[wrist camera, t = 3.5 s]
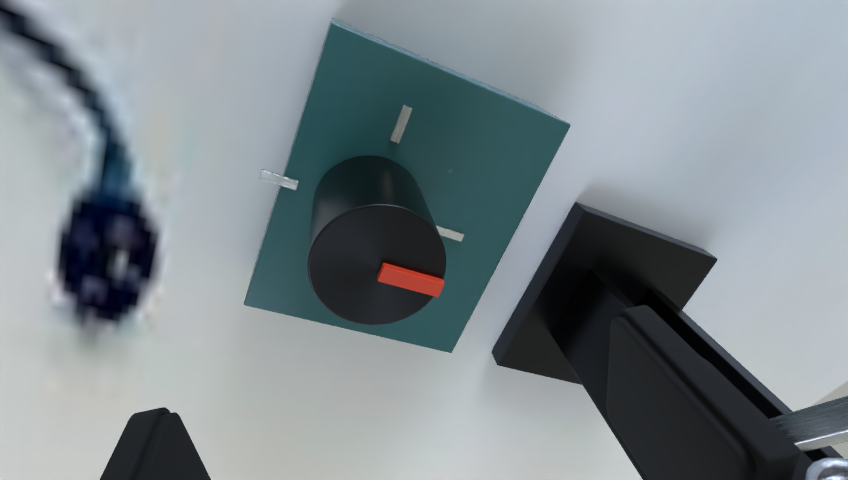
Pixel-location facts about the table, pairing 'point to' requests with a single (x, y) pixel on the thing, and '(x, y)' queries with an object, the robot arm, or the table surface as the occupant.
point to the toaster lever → (816, 425)
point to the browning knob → (373, 243)
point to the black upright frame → (614, 308)
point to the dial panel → (423, 158)
